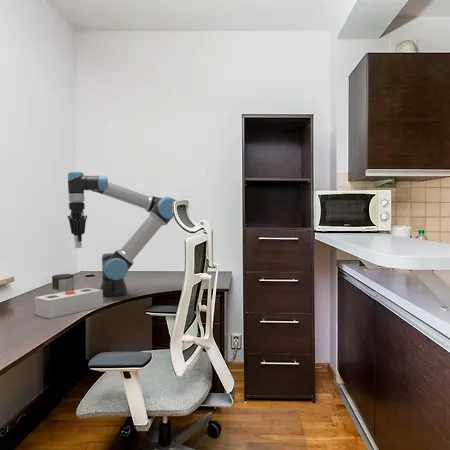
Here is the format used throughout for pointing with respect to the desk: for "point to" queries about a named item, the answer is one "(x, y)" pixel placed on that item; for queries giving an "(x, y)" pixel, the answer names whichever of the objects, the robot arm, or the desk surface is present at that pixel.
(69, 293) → the red plug
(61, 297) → the panel
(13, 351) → the desk surface
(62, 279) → the coffee can
